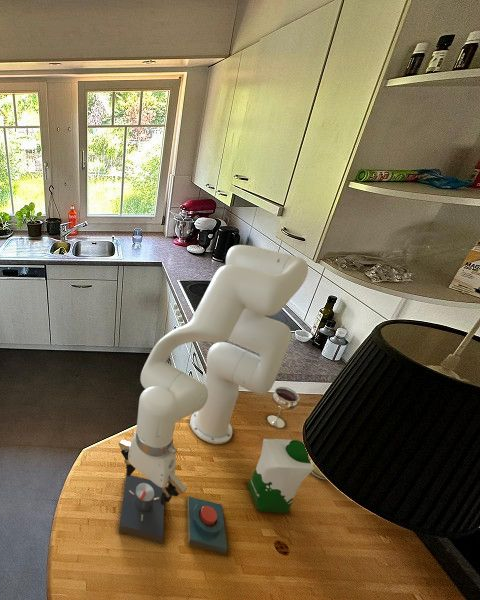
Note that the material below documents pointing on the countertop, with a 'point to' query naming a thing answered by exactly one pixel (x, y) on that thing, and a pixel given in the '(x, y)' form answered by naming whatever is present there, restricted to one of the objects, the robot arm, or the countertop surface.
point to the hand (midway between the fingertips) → (147, 485)
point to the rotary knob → (144, 497)
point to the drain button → (208, 515)
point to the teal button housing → (206, 527)
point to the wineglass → (283, 404)
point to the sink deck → (138, 521)
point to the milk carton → (279, 474)
